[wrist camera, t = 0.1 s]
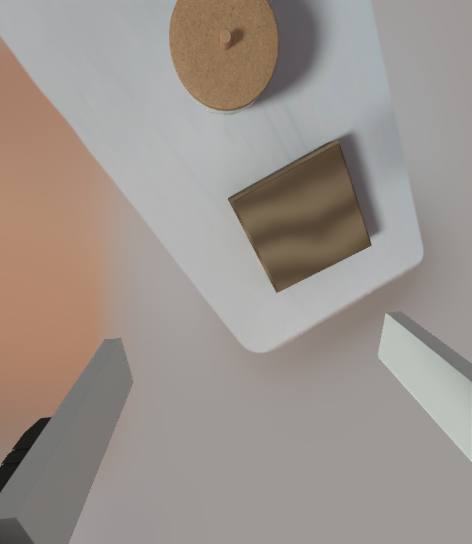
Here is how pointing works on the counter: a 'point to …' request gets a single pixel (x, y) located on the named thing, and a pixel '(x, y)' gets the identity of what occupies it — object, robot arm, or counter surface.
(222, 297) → the counter surface
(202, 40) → the lidded jar
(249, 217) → the walnut stand
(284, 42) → the counter surface
